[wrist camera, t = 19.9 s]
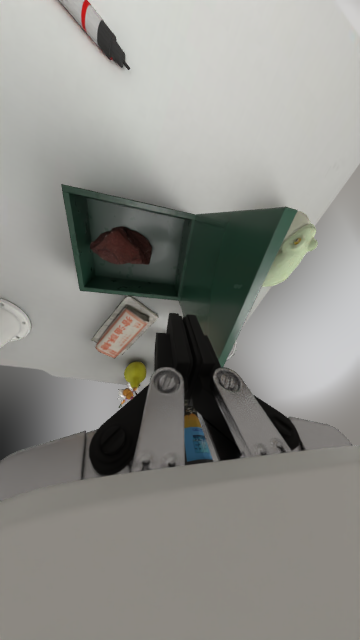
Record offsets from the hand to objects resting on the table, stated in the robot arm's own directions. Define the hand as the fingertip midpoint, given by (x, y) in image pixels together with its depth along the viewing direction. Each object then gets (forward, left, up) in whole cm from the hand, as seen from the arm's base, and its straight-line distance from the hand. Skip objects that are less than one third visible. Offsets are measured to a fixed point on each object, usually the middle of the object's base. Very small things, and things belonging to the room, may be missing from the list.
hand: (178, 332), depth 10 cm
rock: (-10, +3, -27) cm, 29 cm away
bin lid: (+4, 0, -11) cm, 12 cm away
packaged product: (-8, -21, -30) cm, 37 cm away
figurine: (+26, +4, -30) cm, 40 cm away
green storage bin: (-5, 0, -30) cm, 30 cm away
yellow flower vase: (-4, -37, -30) cm, 48 cm away
